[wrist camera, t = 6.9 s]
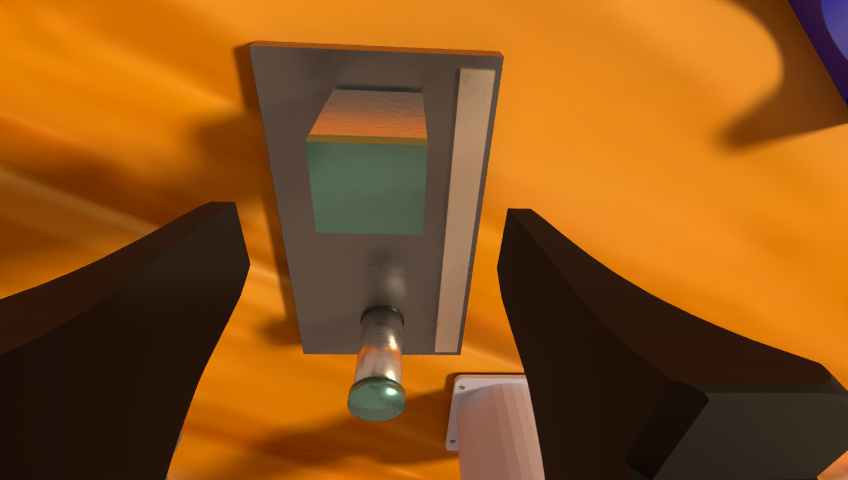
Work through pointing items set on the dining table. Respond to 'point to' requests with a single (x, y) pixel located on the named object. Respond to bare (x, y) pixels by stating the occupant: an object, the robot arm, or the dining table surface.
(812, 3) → the cable clip
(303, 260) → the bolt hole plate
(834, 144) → the dining table surface
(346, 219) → the leg
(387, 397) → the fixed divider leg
